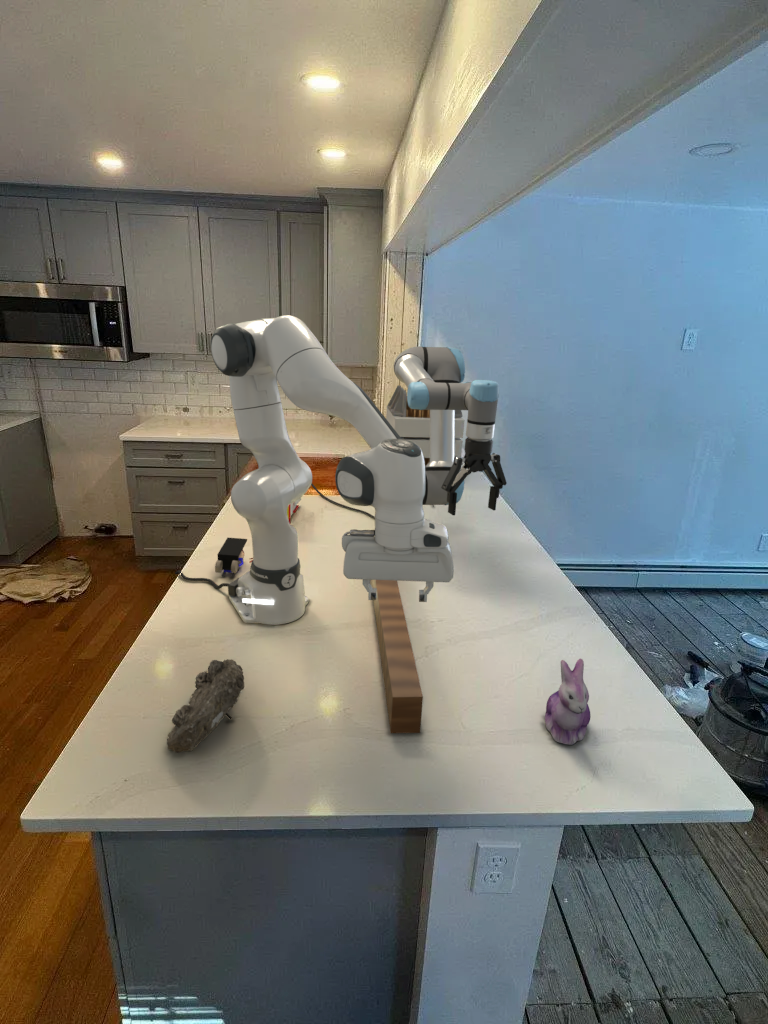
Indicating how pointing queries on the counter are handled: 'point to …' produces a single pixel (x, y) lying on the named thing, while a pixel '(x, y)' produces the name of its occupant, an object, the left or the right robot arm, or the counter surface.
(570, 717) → the figurine
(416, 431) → the white boxy crate
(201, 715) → the fossil
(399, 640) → the post
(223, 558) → the figurine character
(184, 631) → the counter surface
